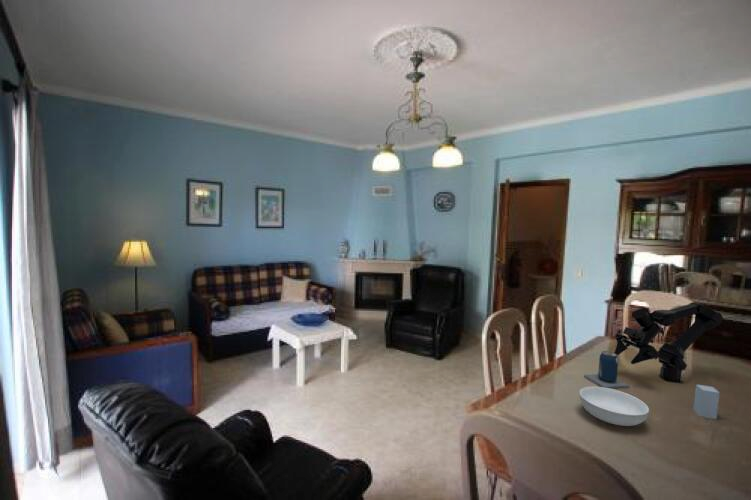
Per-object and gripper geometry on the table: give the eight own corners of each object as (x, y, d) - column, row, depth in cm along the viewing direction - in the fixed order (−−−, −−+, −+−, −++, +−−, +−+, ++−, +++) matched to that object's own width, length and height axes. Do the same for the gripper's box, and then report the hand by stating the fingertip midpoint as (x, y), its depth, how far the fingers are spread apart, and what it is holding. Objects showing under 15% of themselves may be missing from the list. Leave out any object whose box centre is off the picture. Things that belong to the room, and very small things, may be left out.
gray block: (693, 410, 142) (696, 384, 141) (709, 412, 140) (712, 387, 139) (699, 416, 137) (702, 390, 136) (716, 419, 135) (719, 392, 134)
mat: (607, 375, 171) (607, 373, 171) (629, 387, 159) (629, 385, 159) (583, 376, 169) (583, 374, 169) (604, 389, 157) (604, 386, 157)
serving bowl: (649, 442, 120) (651, 421, 119) (575, 421, 131) (577, 402, 130) (644, 414, 138) (646, 396, 137) (580, 398, 149) (581, 381, 148)
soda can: (619, 382, 162) (622, 355, 161) (610, 384, 159) (612, 357, 158) (604, 375, 168) (606, 349, 167) (594, 378, 165) (596, 351, 164)
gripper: (619, 315, 173) (596, 340, 172) (655, 327, 154) (630, 355, 154) (633, 332, 175) (610, 356, 174) (670, 345, 156) (645, 372, 156)
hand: (622, 359), depth 164 cm, fingers open, 9 cm apart
